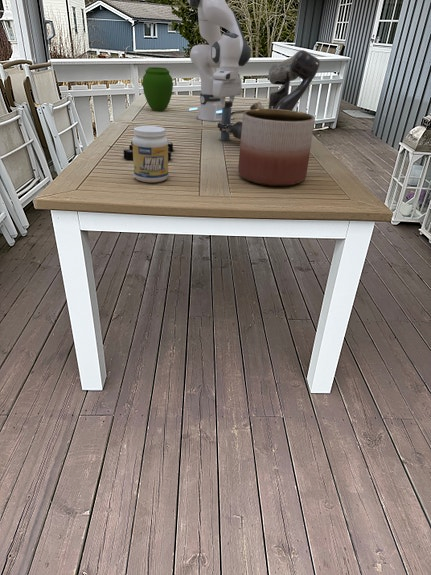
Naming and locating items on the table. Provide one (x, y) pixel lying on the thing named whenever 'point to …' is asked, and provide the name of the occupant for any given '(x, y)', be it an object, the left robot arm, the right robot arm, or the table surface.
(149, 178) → the supplement tub
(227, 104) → the lid
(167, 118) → the table surface
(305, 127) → the planter
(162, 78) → the vase
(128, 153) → the black printed glove
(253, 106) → the seashell
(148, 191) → the table surface
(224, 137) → the dark grey cylinder
